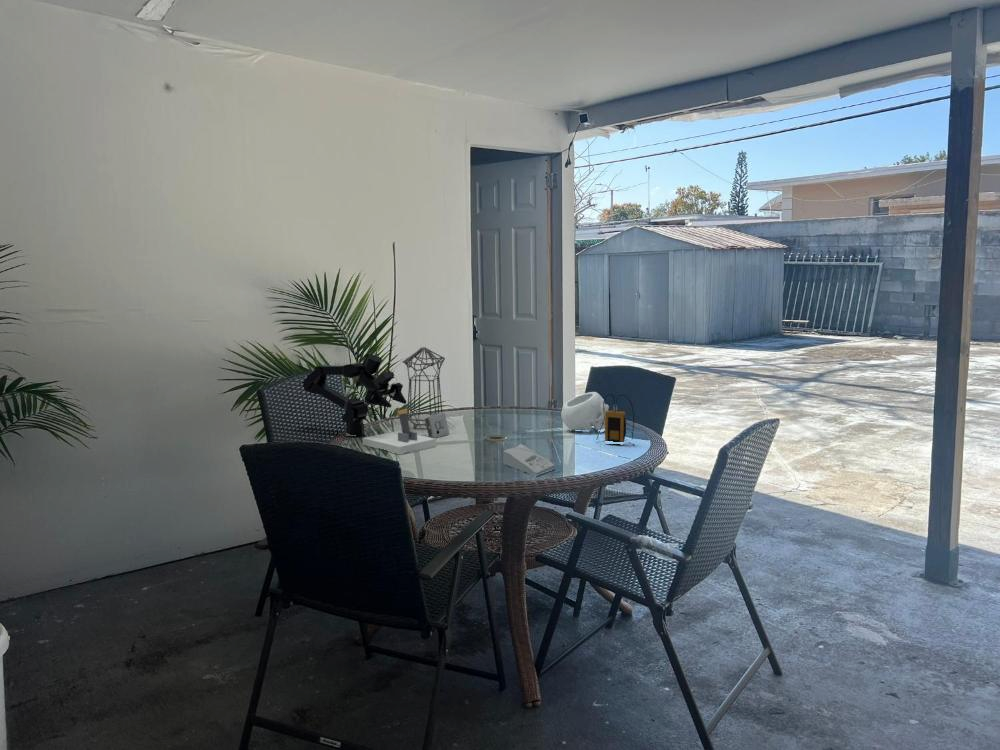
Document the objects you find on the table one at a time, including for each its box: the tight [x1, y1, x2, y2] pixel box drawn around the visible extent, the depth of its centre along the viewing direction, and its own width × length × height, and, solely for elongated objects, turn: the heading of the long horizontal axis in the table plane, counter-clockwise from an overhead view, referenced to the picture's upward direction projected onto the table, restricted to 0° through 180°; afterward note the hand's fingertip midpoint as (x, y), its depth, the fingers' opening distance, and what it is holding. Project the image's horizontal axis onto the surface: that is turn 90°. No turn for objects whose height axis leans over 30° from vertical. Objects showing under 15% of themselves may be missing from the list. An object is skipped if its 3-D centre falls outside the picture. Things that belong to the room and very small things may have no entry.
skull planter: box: [560, 391, 610, 432], centre depth 317 cm, size 14×20×19 cm
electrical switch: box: [424, 412, 450, 439], centre depth 309 cm, size 9×5×9 cm, turn 141°
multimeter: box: [595, 393, 635, 442], centre depth 295 cm, size 15×10×20 cm
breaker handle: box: [397, 408, 411, 437], centre depth 288 cm, size 2×3×11 cm, turn 137°
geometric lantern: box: [402, 346, 446, 430], centre depth 323 cm, size 16×16×35 cm
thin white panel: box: [362, 430, 437, 455], centre depth 291 cm, size 22×18×6 cm
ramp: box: [502, 443, 555, 475], centre depth 261 cm, size 28×16×5 cm, turn 12°
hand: (398, 404), depth 296 cm, fingers open, 9 cm apart
